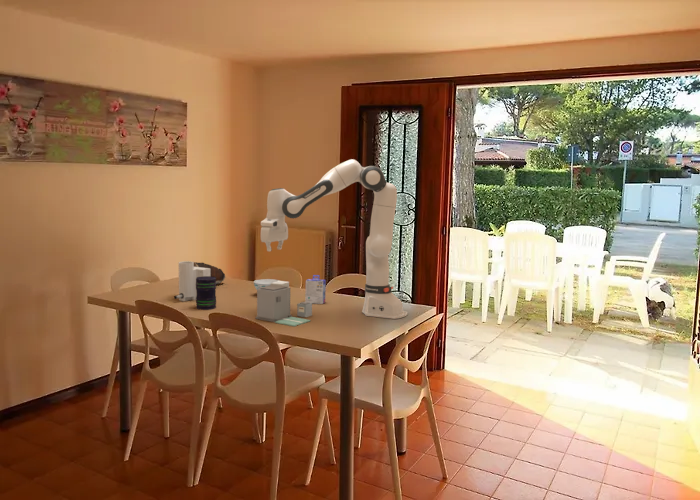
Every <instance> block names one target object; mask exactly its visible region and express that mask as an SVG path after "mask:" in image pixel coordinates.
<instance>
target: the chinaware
mask: <svg viewBox="0 0 700 500" xmlns="http://www.w3.org/2000/svg"><path fill="white" fill-rule="evenodd" d="M277 281H281V280H279V279H274V278H273V279H272V278H271V279H270V278H266V279H265V278H264V279H263V278H262V279H256V280H254V281H253V286H254V288H255V289H256V291H257V289H259V288H261V287H265V286H270V285H271V283H273V282H277Z"/></svg>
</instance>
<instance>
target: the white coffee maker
mask: <svg viewBox="0 0 700 500" xmlns="http://www.w3.org/2000/svg"><path fill="white" fill-rule="evenodd" d="M194 262H195V261H190V260H187V261H186V260H185V261H179V262H178V295H174V297H173V298H174V300H177V299H178V301H180V302H187V301H196V297H197V290H196V278H197V277H203V276H210V268H201V267H194Z"/></svg>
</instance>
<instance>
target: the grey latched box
mask: <svg viewBox="0 0 700 500" xmlns="http://www.w3.org/2000/svg"><path fill="white" fill-rule="evenodd" d="M256 296H257V297H256V316H255V319H256V320H260V321H261V320H262V321H264V322H265V321H266V322H271V323H275V321H278V320H282V319H285V318H288V317H293V315H292V314H291V287H290V286H289V287H287V286H281V285H270V286H265V287H261V288H259V289H257V290H256Z"/></svg>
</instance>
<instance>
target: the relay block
mask: <svg viewBox="0 0 700 500" xmlns="http://www.w3.org/2000/svg"><path fill="white" fill-rule="evenodd" d="M296 306H297V307H296V308H297V314H296V315H297V317H299V318H305V317H306V318H309V317H312V316H313V303H309V302H305V301H301V302H298V303H297V305H296Z"/></svg>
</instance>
